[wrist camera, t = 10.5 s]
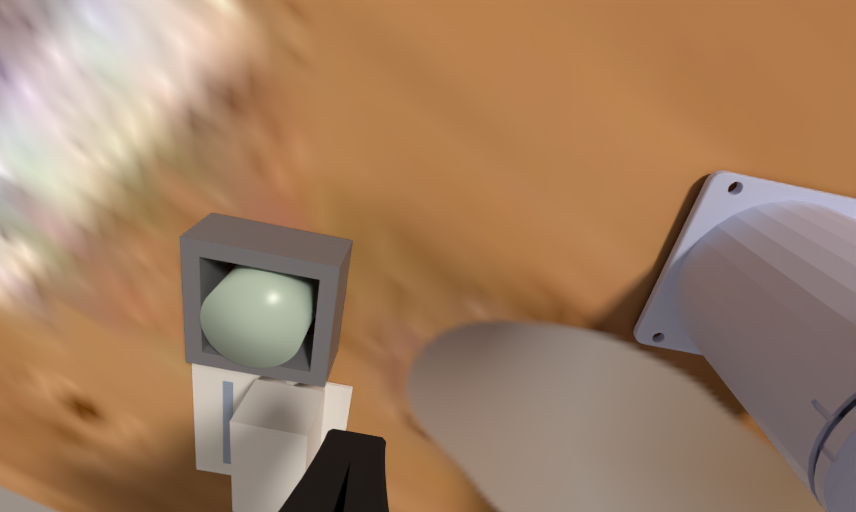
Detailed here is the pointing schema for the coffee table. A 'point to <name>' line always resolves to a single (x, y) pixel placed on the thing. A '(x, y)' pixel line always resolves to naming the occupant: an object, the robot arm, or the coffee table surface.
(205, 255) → the button housing
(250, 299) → the button
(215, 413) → the paper
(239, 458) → the eraser
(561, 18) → the coffee table surface
